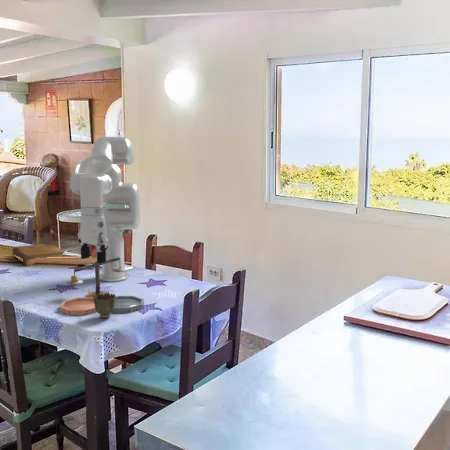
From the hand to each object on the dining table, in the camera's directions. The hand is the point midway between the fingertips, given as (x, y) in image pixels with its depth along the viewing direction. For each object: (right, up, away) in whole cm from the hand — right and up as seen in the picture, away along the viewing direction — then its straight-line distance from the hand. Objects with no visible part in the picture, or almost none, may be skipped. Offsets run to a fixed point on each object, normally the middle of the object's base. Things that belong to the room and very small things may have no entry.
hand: (93, 260), depth 185 cm
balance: (-4, -16, +25) cm, 30 cm away
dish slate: (+8, -18, +14) cm, 24 cm away
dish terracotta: (-7, -18, +11) cm, 23 cm away
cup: (+4, -20, +2) cm, 21 cm away
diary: (-48, -6, +84) cm, 97 cm away
